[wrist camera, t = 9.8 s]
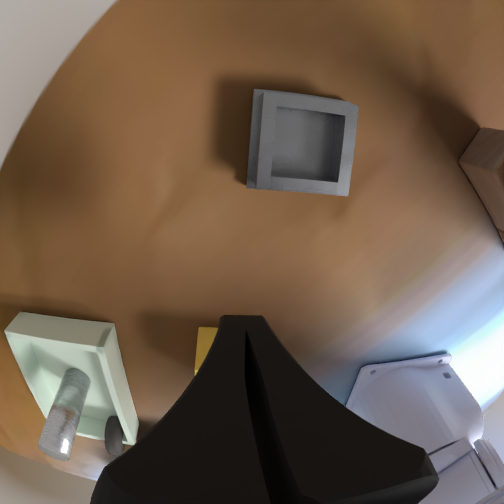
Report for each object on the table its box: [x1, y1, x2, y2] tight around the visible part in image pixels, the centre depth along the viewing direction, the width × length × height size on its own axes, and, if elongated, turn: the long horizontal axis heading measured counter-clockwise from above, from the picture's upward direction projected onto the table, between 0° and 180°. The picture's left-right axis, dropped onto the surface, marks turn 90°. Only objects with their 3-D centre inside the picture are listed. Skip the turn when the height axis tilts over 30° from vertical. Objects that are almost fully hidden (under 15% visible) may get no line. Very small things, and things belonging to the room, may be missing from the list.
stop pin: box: [38, 368, 91, 461], centre depth 17 cm, size 2×2×7 cm
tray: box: [4, 311, 139, 445], centre depth 19 cm, size 8×11×2 cm
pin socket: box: [246, 89, 358, 196], centre depth 14 cm, size 5×5×2 cm
